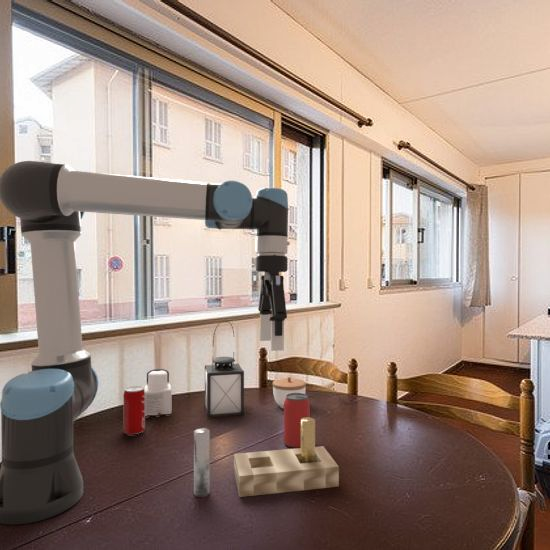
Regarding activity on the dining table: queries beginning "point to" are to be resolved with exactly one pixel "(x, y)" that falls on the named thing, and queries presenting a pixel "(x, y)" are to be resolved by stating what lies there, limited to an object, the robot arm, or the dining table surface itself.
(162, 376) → the container
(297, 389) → the lidded jar
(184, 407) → the dining table surface
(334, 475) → the pin block
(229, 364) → the lantern
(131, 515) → the dining table surface
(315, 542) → the dining table surface
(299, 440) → the beer can
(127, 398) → the soda can
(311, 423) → the brass pin
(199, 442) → the steel pin
